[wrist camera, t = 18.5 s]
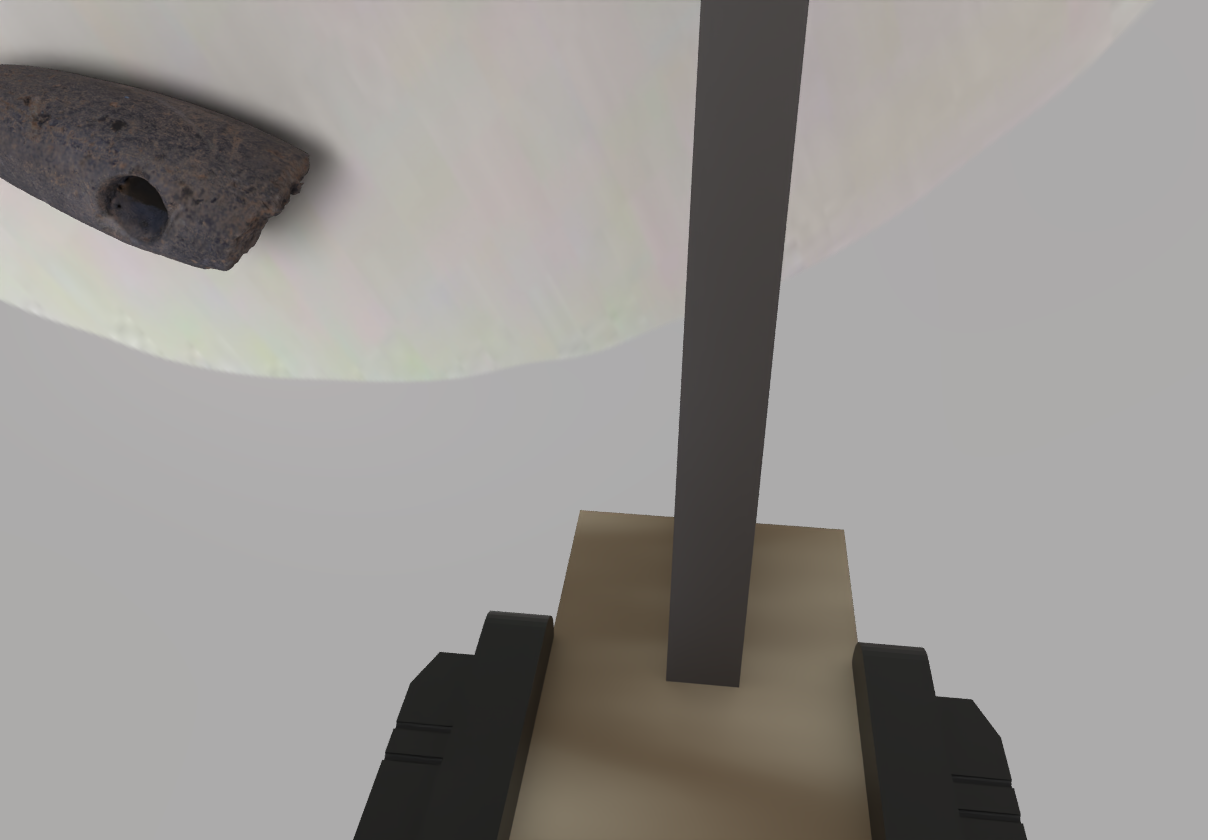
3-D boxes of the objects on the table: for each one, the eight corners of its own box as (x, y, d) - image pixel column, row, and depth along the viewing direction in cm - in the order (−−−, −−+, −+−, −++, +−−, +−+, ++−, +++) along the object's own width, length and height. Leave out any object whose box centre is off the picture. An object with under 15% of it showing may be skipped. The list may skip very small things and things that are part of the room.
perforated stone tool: (-18, 121, 46) (-136, 173, 40) (-15, -2, 43) (-142, 34, 37) (318, 248, 46) (251, 317, 40) (342, 135, 44) (274, 191, 38)
